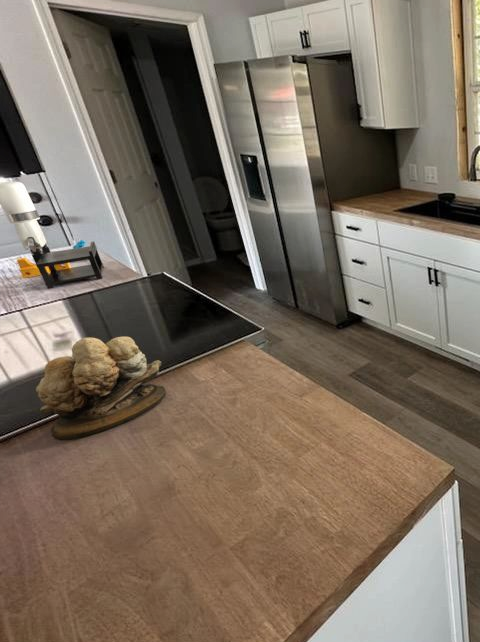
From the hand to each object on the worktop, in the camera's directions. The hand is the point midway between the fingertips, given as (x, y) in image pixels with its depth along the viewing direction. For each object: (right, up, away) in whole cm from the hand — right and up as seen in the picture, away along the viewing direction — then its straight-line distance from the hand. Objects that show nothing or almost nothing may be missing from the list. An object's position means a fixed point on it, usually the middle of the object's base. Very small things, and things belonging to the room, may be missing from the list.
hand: (45, 260), depth 155 cm
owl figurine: (+97, -32, -72) cm, 125 cm away
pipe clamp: (0, -5, +1) cm, 5 cm away
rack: (+16, -6, -4) cm, 18 cm away
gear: (-2, +1, +15) cm, 15 cm away
